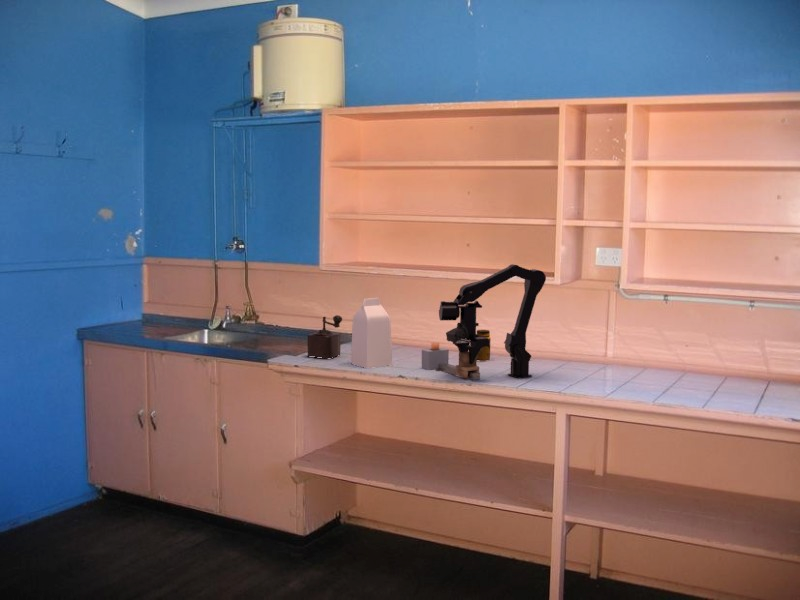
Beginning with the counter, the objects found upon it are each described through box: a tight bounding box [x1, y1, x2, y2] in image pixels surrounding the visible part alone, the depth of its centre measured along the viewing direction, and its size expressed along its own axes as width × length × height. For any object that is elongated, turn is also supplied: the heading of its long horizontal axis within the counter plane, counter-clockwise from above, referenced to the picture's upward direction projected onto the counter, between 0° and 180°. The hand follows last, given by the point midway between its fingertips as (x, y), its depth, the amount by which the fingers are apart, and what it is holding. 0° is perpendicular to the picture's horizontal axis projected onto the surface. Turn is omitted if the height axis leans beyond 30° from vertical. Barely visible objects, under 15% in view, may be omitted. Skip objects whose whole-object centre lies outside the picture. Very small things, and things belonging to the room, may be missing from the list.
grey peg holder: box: [421, 347, 450, 371], centre depth 307 cm, size 5×9×7 cm, turn 121°
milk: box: [350, 297, 394, 369], centre depth 311 cm, size 12×12×26 cm
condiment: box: [476, 329, 495, 362], centre depth 325 cm, size 7×8×12 cm
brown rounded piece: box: [430, 342, 440, 351], centre depth 306 cm, size 3×3×3 cm
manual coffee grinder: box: [307, 314, 343, 359], centre depth 328 cm, size 16×11×18 cm
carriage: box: [455, 351, 480, 379], centre depth 289 cm, size 6×6×8 cm
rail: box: [435, 363, 481, 381], centre depth 294 cm, size 22×6×2 cm, turn 31°
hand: (467, 363), depth 289 cm, fingers closed on carriage, 4 cm apart
